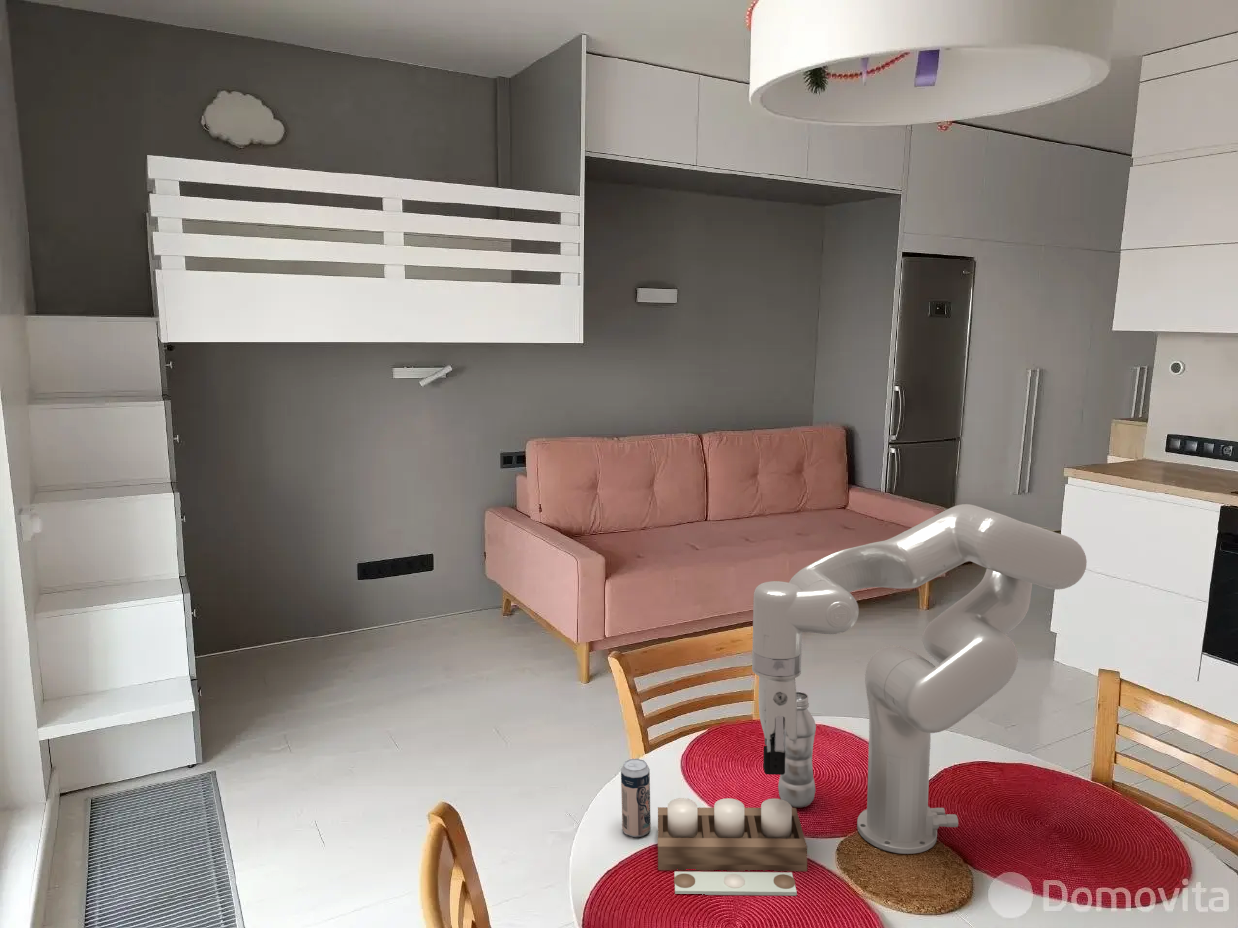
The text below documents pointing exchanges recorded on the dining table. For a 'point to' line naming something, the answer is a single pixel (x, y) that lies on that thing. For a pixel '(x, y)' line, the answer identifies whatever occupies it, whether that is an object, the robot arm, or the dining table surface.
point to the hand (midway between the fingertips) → (773, 771)
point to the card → (735, 883)
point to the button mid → (729, 818)
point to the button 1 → (682, 818)
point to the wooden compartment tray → (731, 846)
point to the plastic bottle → (799, 759)
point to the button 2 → (776, 819)
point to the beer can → (635, 797)
